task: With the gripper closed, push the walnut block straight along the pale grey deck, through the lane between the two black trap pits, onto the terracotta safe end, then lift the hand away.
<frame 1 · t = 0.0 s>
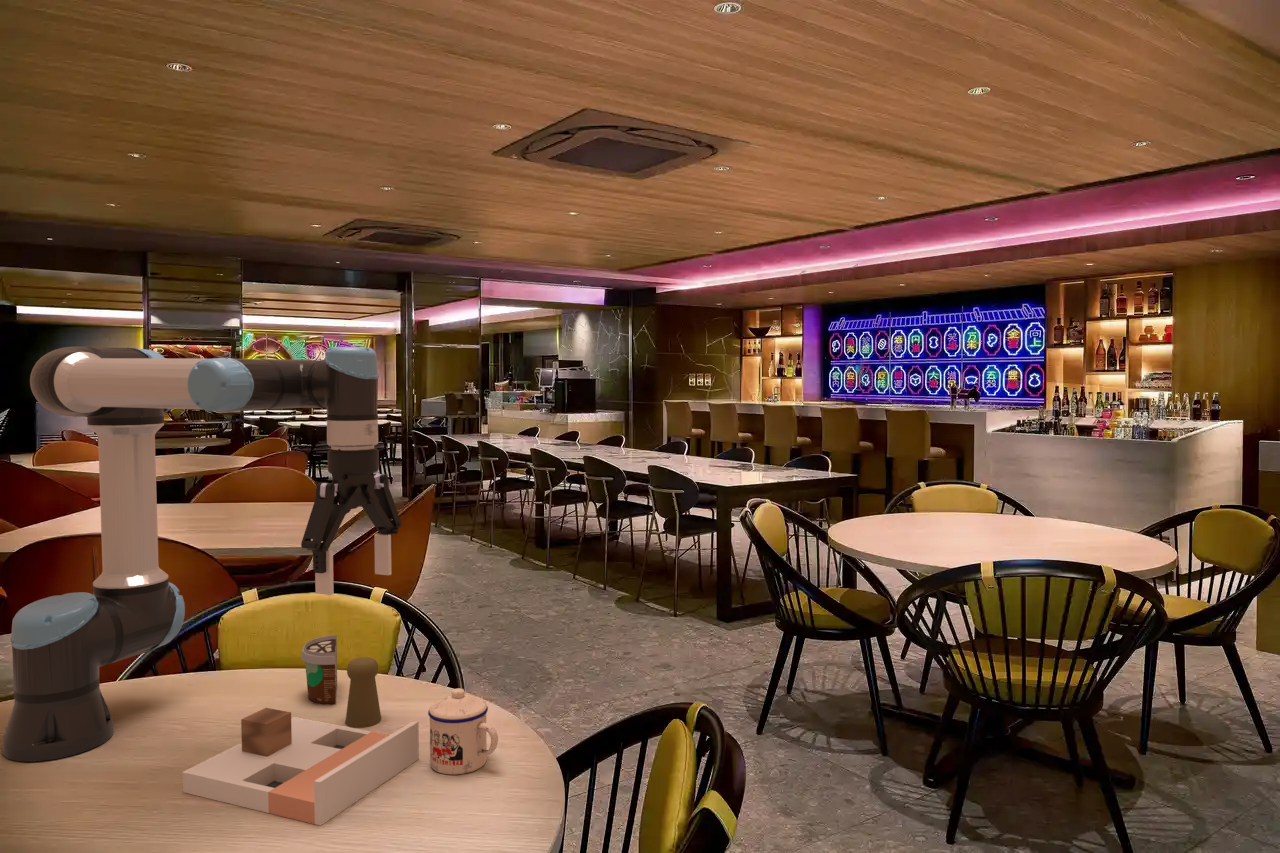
hand: (355, 583, 137), 28 cm above the table, fingers open, 13 cm apart
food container: (319, 698, 165), on the table
walnut block: (267, 747, 135), point 3 cm above the table, touching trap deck
teacup with lid: (465, 766, 137), on the table
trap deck: (303, 774, 133), on the table
cork: (363, 722, 153), on the table
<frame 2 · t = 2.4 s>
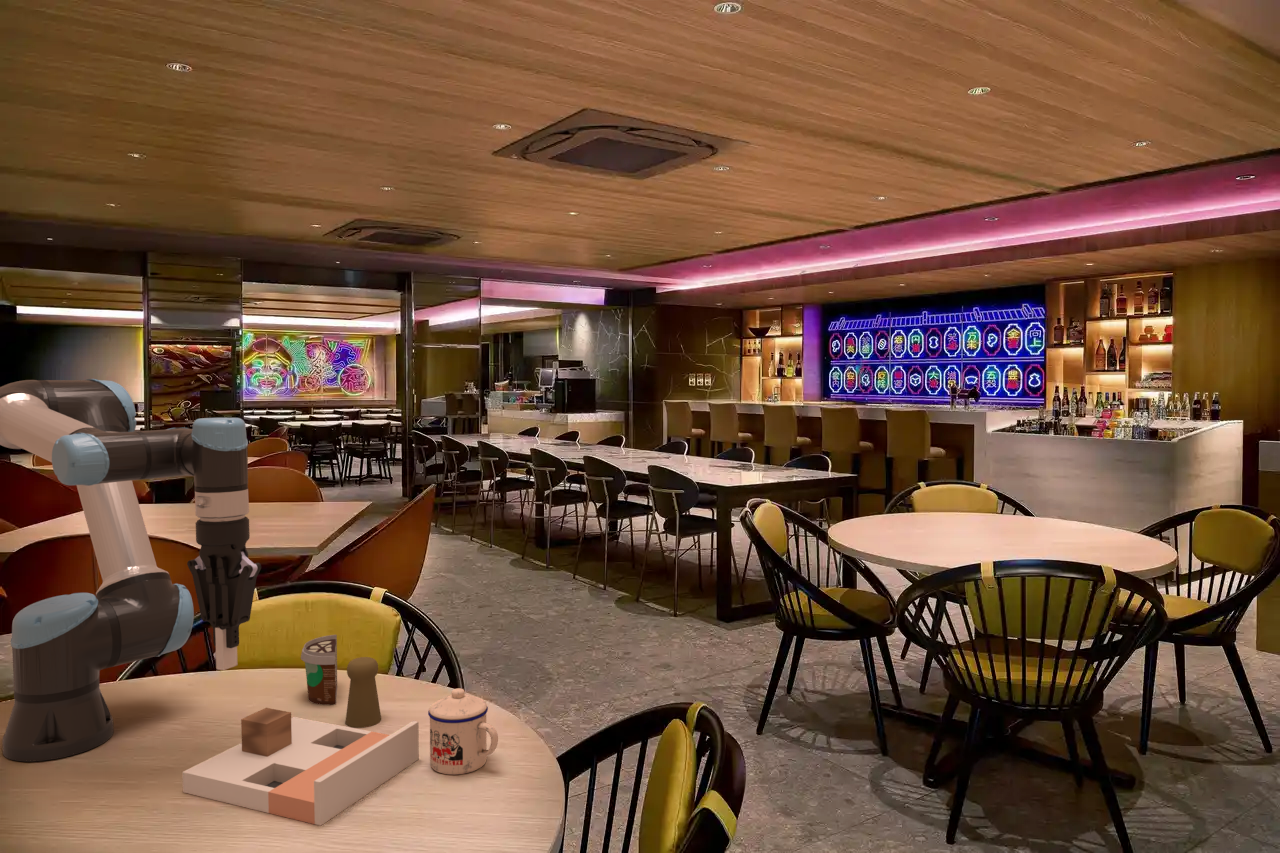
hand: (227, 666, 137), 15 cm above the table, fingers closed
nothing on the table moved.
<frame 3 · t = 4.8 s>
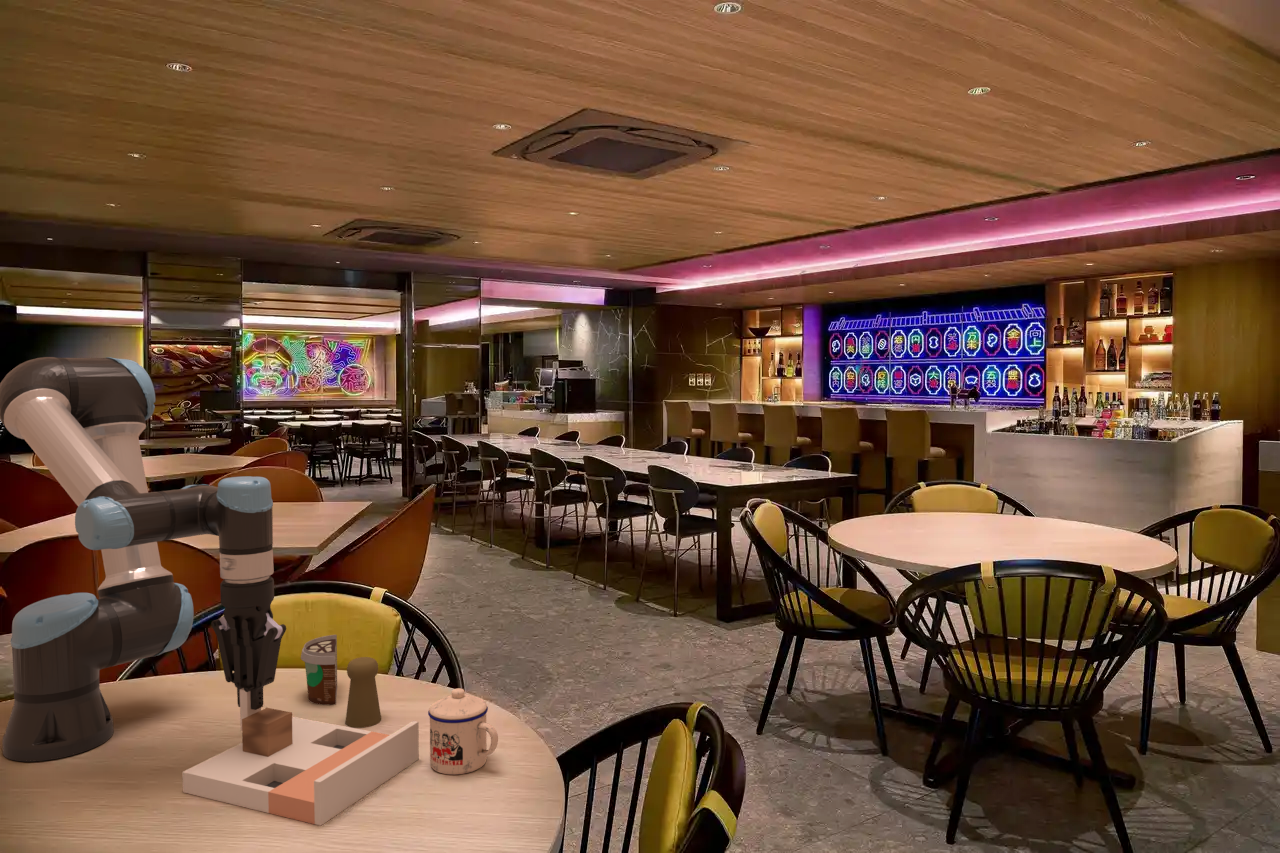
hand: (251, 728, 136), 6 cm above the table, fingers closed
walnut block: (267, 747, 135), point 3 cm above the table, touching gripper
everything else where it was.
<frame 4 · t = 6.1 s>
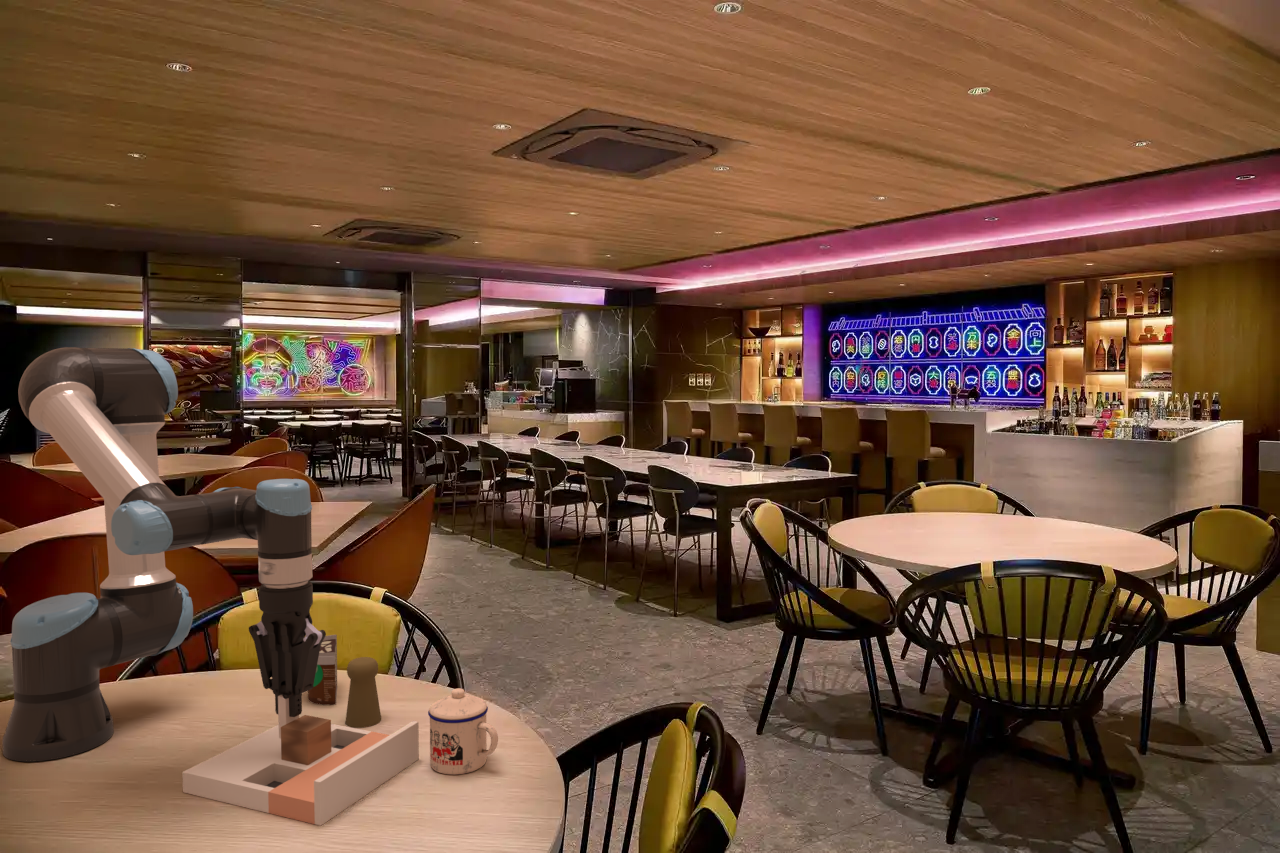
hand: (289, 735, 134), 6 cm above the table, fingers closed
walnut block: (306, 755, 133), point 3 cm above the table, touching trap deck
everything else where it was.
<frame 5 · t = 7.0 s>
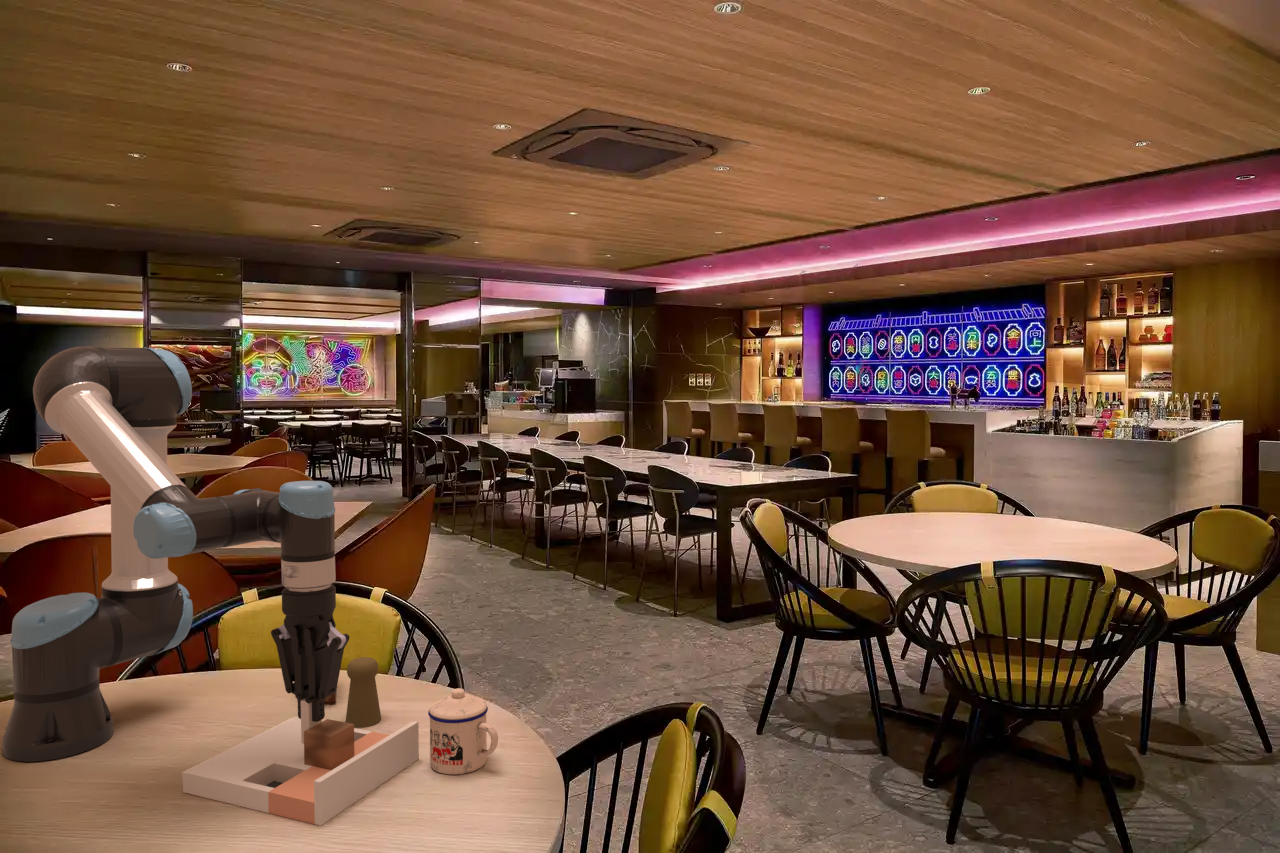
hand: (311, 740, 132), 6 cm above the table, fingers closed
walnut block: (329, 760, 131), point 3 cm above the table, touching gripper, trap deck
everything else where it was.
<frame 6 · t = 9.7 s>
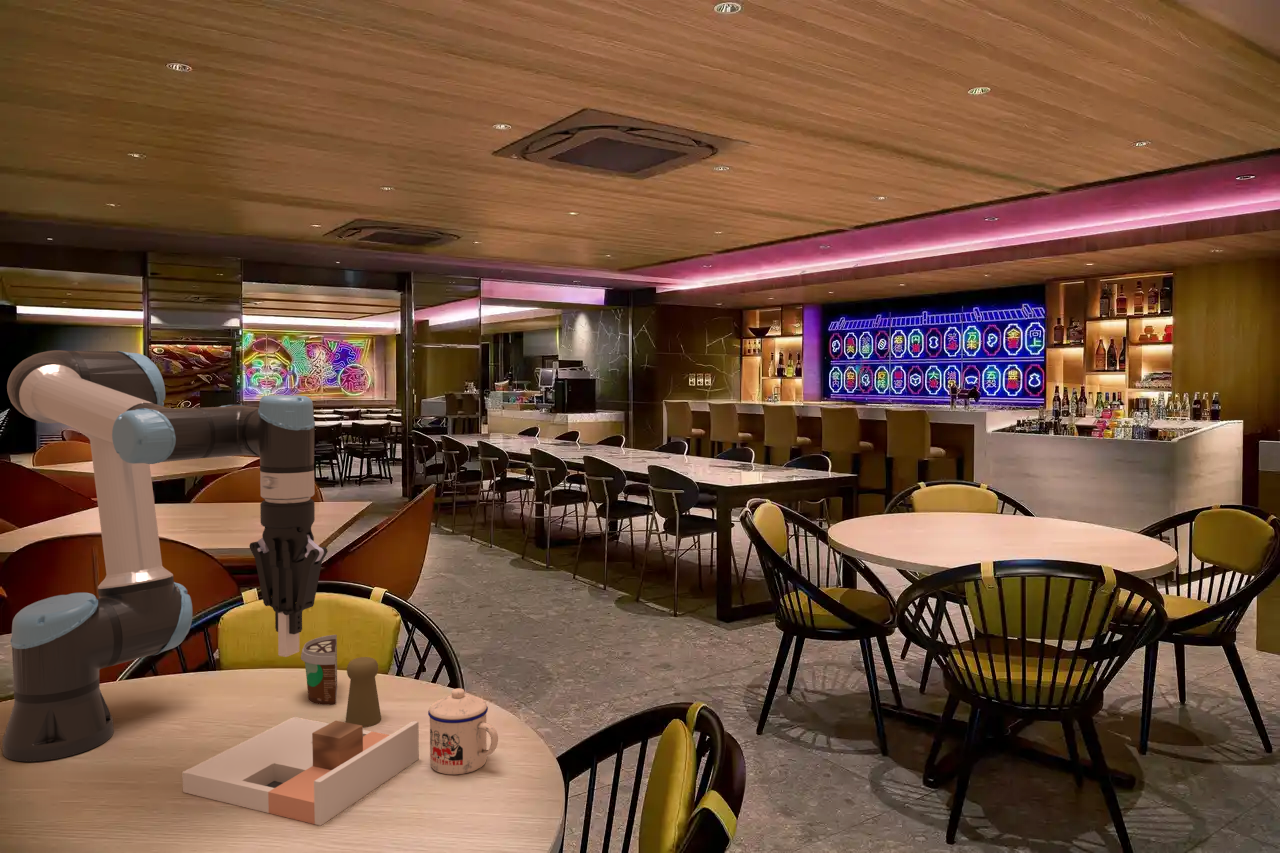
hand: (289, 653, 133), 18 cm above the table, fingers closed
walnut block: (338, 762, 131), point 3 cm above the table, touching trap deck
everything else where it was.
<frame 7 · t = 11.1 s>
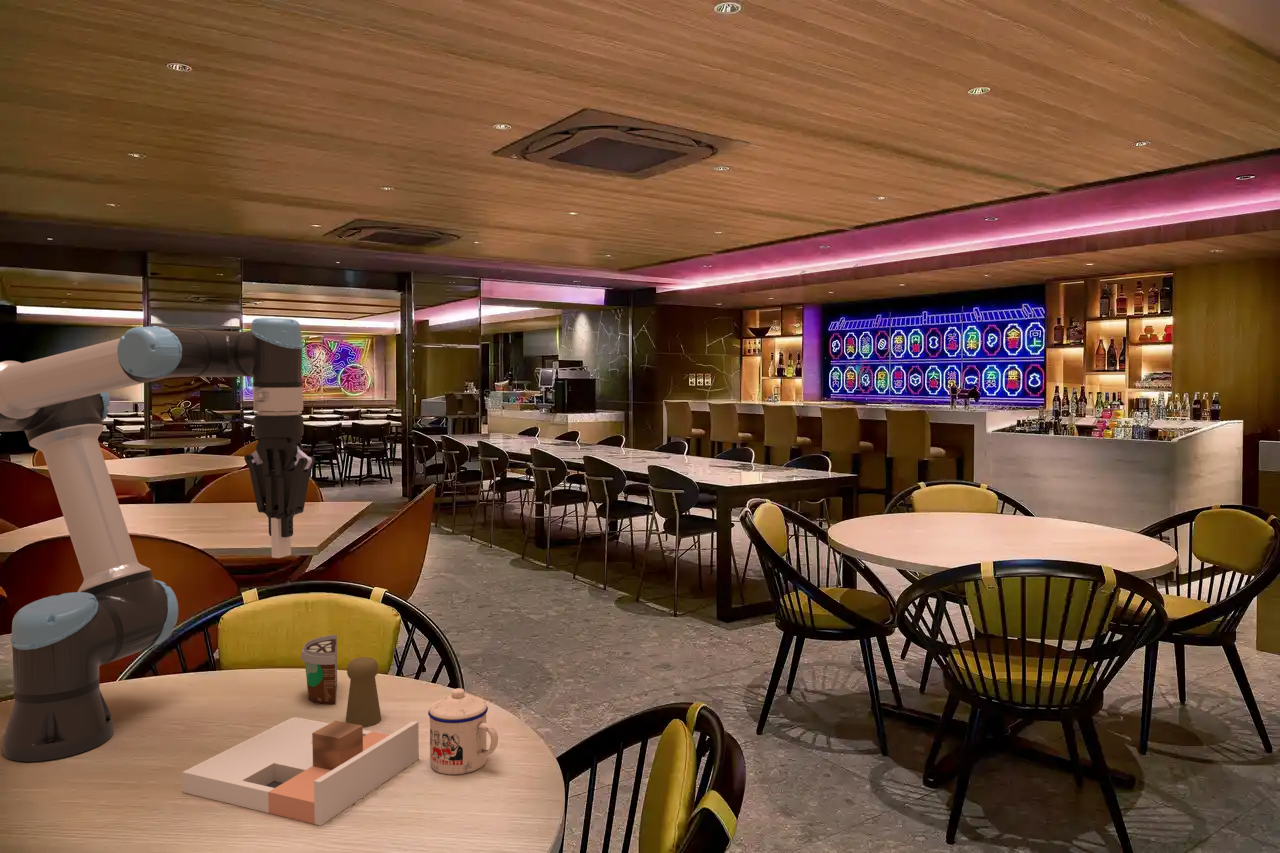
hand: (281, 556, 145), 30 cm above the table, fingers closed
nothing on the table moved.
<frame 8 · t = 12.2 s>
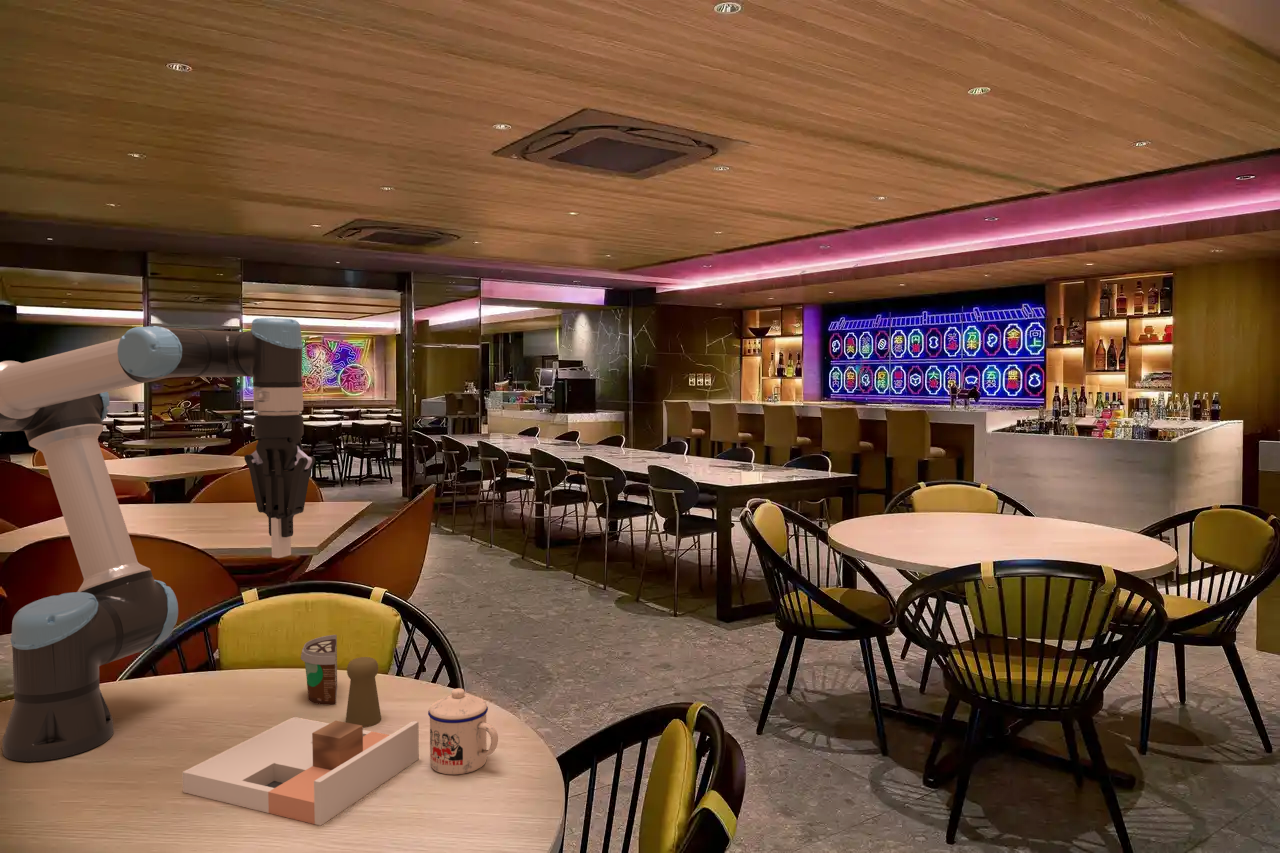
hand: (281, 555, 145), 30 cm above the table, fingers closed
nothing on the table moved.
at the end: walnut block inside the target area (1.4 cm from its centre), point 3.0 cm above the table; walnut block tilted 0°; the gripper is holding nothing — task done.
